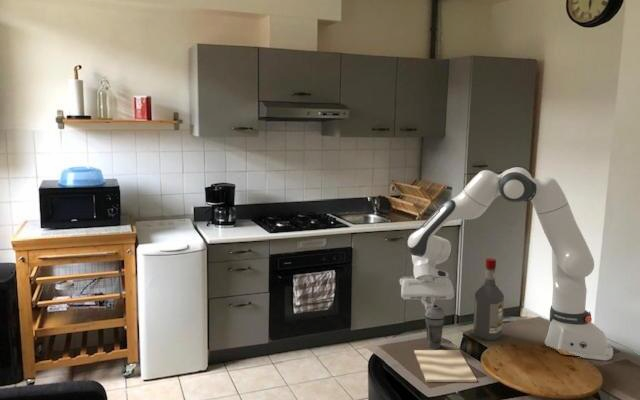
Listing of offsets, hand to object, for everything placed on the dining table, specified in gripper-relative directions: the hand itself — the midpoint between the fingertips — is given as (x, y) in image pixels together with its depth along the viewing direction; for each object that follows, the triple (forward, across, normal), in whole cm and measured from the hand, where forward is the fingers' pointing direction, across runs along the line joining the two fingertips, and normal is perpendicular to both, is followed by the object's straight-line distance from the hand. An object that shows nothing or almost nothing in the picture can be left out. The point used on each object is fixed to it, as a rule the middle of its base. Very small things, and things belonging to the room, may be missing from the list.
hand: (429, 308), depth 208 cm
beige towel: (+26, 0, -10) cm, 27 cm away
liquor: (+7, +23, +8) cm, 25 cm away
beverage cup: (+14, 0, +2) cm, 14 cm away
